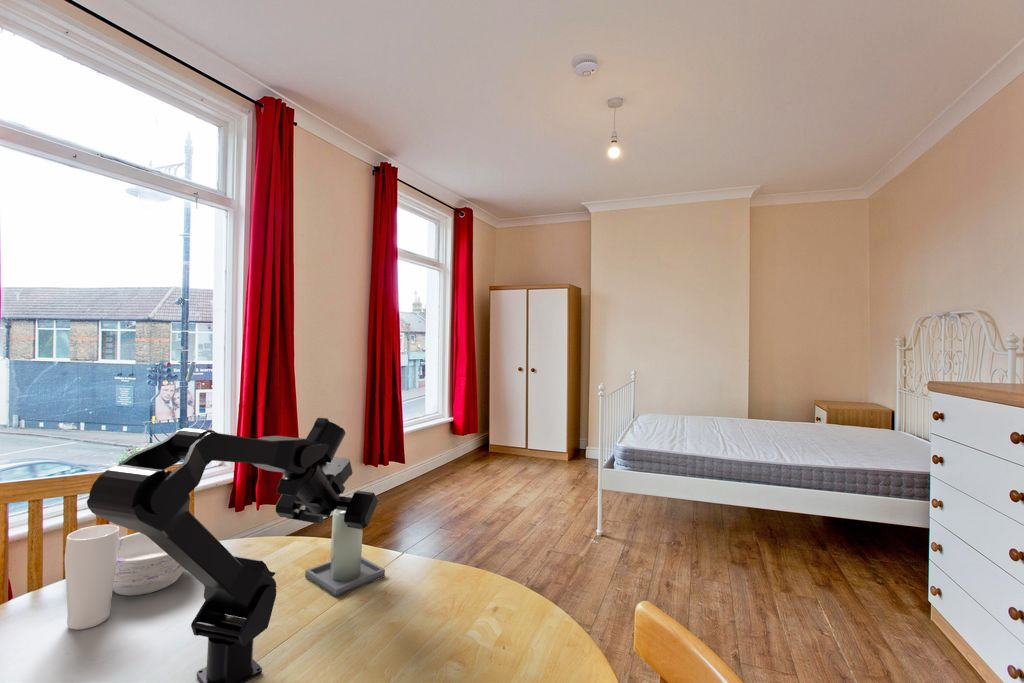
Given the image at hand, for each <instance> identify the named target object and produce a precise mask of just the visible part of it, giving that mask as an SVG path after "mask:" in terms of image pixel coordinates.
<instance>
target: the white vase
mask: <svg viewBox="0 0 1024 683" xmlns="http://www.w3.org/2000/svg"><path fill="white" fill-rule="evenodd" d="M120 538H121V537H120V527H119V525H117V524H115V525H114V524H98V525H92V526H91V525H90V526H87V527H82V528H80V529H79V528H78V529H77V530H74V531H72V532H70V533H68V535H66V541H65V549H64V574H65V589H66V590H65V591H66V607H67V608H66V609H67V610H66V611H67V618H66V620H67V621H66V625H67V627H68V629H70V630H73V631H74V630H75V631H79V630H80V631H81V630H82V631H83V630H87V629H90V628H93V627H96V626H99V625H100V624H102V623H103V622H105V621H106V620H107V619H108V618H109V617H110V615H111V609H112V608H111V605H112V597H113V592H114V591H113V585H114V579H115V573H116V566H117V560H118V553H119V541H120Z"/></svg>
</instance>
